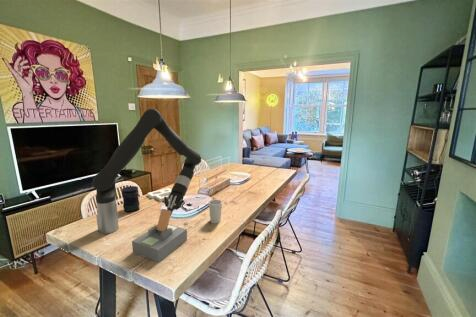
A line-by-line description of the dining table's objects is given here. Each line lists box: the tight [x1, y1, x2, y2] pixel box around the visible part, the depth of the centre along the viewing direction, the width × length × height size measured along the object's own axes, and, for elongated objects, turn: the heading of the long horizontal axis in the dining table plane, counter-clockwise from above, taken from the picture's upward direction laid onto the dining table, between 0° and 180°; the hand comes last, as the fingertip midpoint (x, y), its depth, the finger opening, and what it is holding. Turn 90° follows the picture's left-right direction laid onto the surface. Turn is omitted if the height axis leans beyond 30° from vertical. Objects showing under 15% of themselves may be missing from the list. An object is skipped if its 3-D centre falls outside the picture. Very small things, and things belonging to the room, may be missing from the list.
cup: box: [208, 199, 223, 224], centre depth 139 cm, size 8×8×12 cm
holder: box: [147, 187, 187, 202], centre depth 170 cm, size 45×18×3 cm, turn 44°
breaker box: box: [131, 223, 188, 263], centre depth 113 cm, size 20×16×9 cm
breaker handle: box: [156, 208, 172, 234], centre depth 113 cm, size 2×5×12 cm, turn 65°
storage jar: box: [121, 185, 141, 214], centre depth 153 cm, size 10×10×15 cm
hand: (167, 216), depth 115 cm, fingers closed
